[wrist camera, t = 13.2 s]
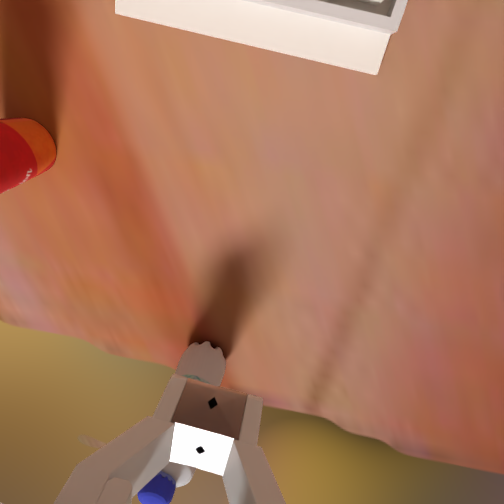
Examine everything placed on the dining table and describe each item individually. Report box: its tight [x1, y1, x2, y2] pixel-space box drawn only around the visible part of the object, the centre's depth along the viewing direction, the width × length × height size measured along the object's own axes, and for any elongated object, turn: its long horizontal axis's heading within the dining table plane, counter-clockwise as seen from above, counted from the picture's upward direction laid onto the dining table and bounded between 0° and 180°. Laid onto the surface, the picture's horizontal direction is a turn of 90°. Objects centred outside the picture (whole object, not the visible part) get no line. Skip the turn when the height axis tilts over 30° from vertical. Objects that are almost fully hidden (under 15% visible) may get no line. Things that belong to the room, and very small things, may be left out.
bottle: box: [138, 341, 226, 504], centre depth 42 cm, size 7×7×20 cm
